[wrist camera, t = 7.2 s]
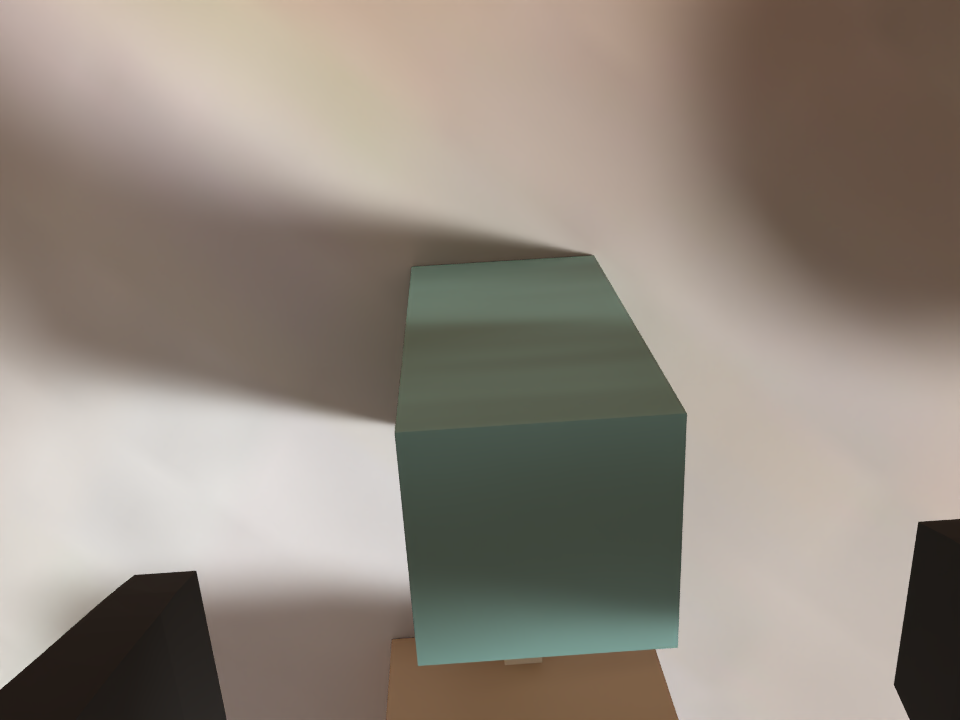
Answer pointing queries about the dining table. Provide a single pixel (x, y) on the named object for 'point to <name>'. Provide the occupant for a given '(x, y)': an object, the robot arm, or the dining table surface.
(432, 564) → the tethered block
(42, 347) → the dining table surface
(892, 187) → the dining table surface
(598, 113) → the dining table surface
